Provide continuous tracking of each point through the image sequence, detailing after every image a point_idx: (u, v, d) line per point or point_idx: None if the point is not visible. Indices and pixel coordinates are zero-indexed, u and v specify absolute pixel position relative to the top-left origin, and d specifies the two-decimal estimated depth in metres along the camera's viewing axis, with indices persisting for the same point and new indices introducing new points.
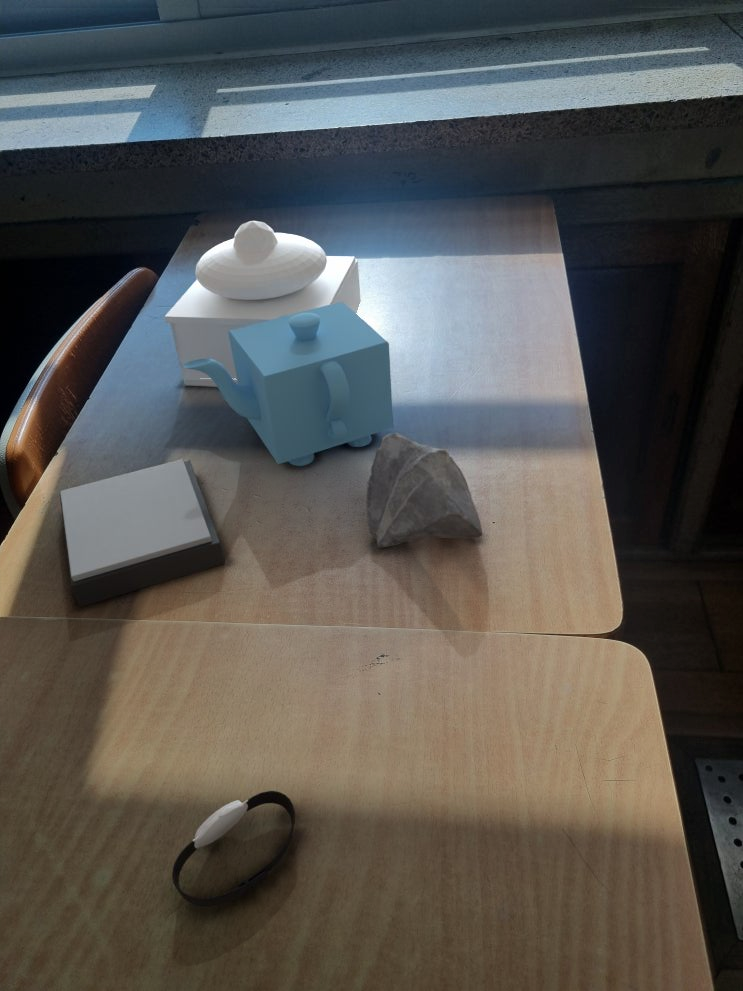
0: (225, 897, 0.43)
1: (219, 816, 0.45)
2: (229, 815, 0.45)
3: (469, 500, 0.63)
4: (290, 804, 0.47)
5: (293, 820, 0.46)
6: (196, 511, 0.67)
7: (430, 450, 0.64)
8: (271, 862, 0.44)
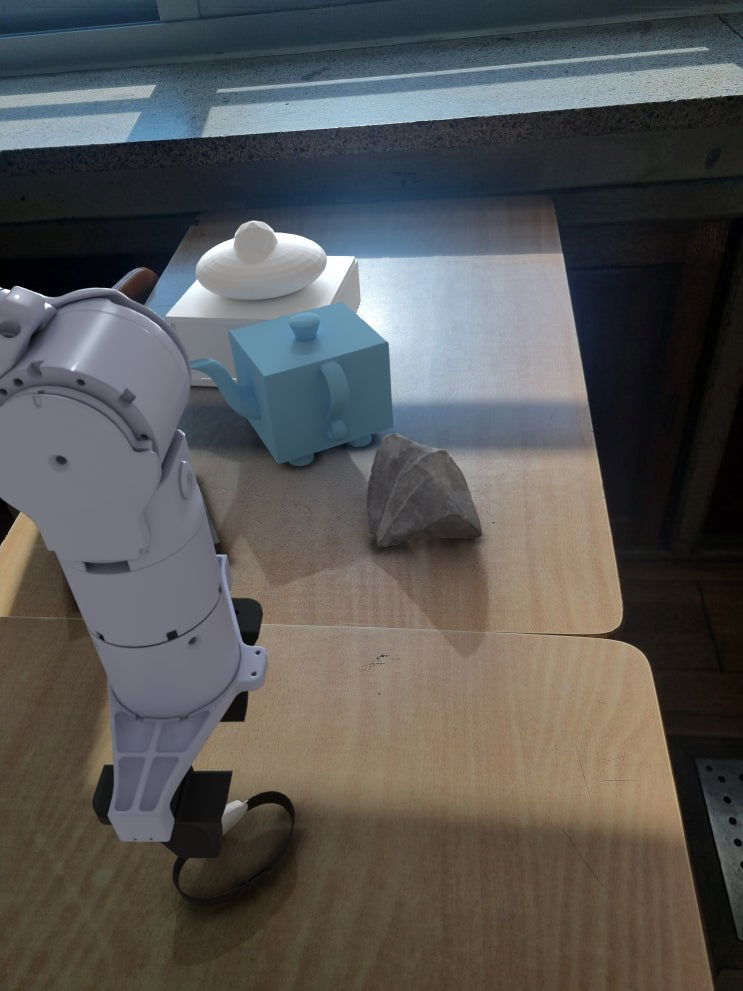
0: (225, 897, 0.43)
1: None
2: (229, 815, 0.45)
3: (469, 500, 0.63)
4: (290, 804, 0.47)
5: (293, 820, 0.46)
6: None
7: (430, 450, 0.64)
8: (271, 862, 0.44)
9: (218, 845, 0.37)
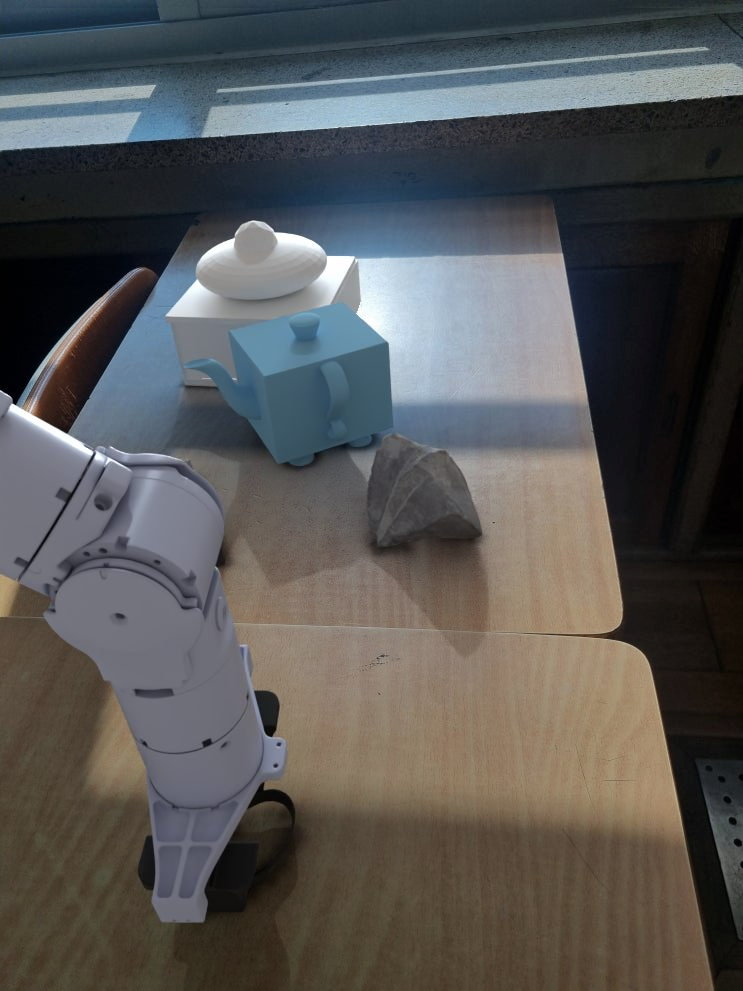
0: None
1: None
2: None
3: (469, 500, 0.63)
4: (290, 802, 0.47)
5: (293, 818, 0.46)
6: None
7: (430, 450, 0.64)
8: (271, 860, 0.44)
9: (244, 902, 0.41)
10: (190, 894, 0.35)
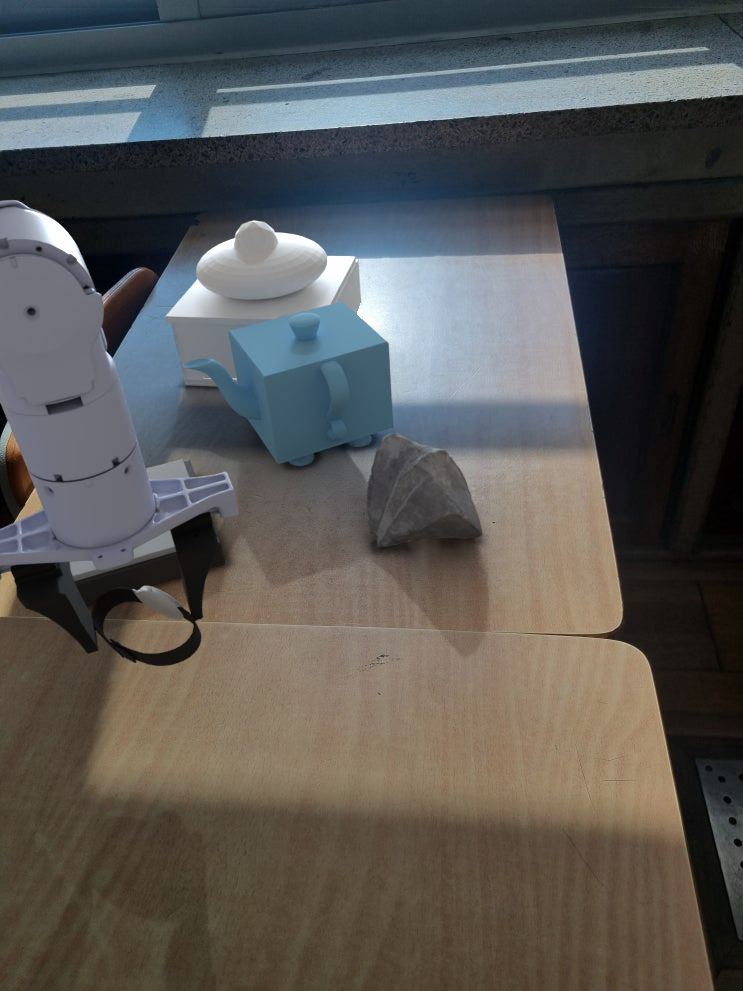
0: None
1: (146, 589, 0.49)
2: (158, 600, 0.50)
3: (469, 500, 0.63)
4: (188, 639, 0.48)
5: (175, 649, 0.48)
6: None
7: (430, 450, 0.64)
8: (135, 652, 0.48)
9: (79, 642, 0.47)
10: None
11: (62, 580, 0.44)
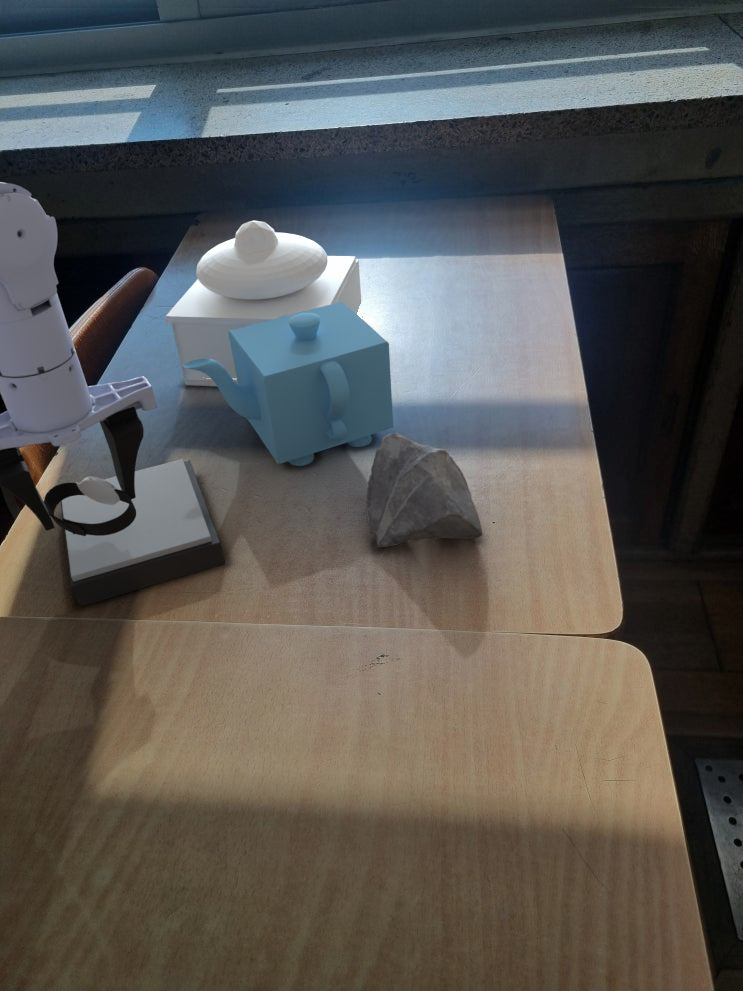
0: (57, 520, 0.63)
1: (88, 478, 0.63)
2: (98, 486, 0.63)
3: (469, 500, 0.63)
4: (126, 510, 0.62)
5: (117, 517, 0.61)
6: (196, 511, 0.67)
7: (430, 450, 0.64)
8: (85, 524, 0.62)
9: None
10: None
11: (25, 463, 0.57)
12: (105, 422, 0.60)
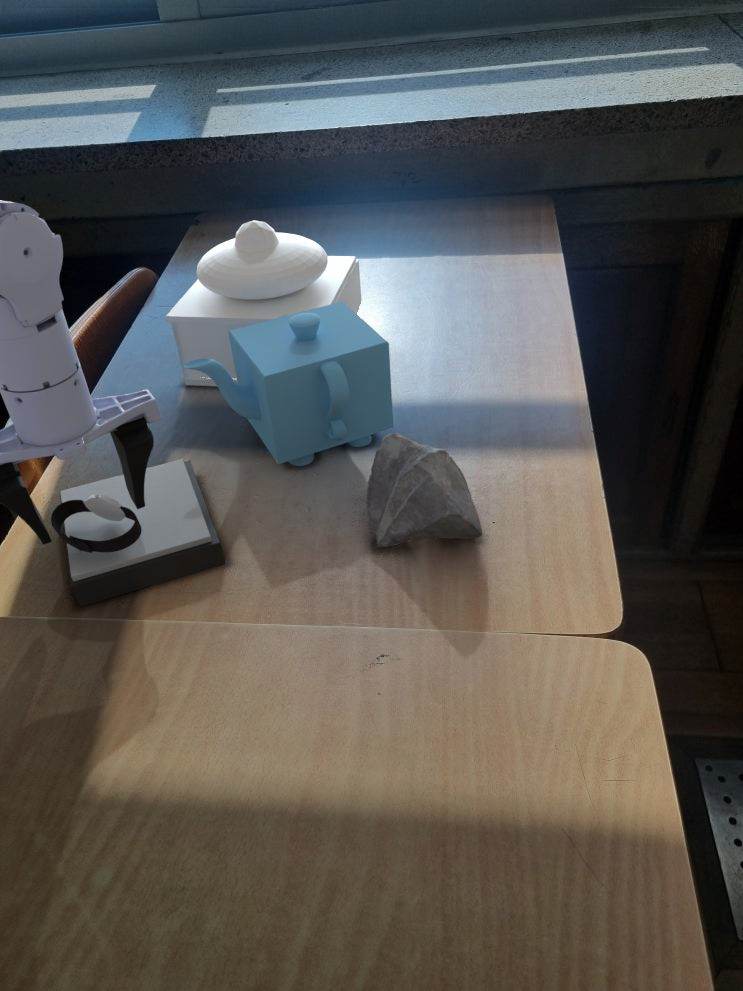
0: (63, 537, 0.64)
1: (94, 495, 0.64)
2: (104, 503, 0.64)
3: (469, 500, 0.63)
4: (132, 527, 0.63)
5: (122, 535, 0.63)
6: (196, 511, 0.67)
7: (430, 450, 0.64)
8: (91, 542, 0.63)
9: (36, 534, 0.61)
10: None
11: (21, 479, 0.58)
12: (116, 432, 0.61)
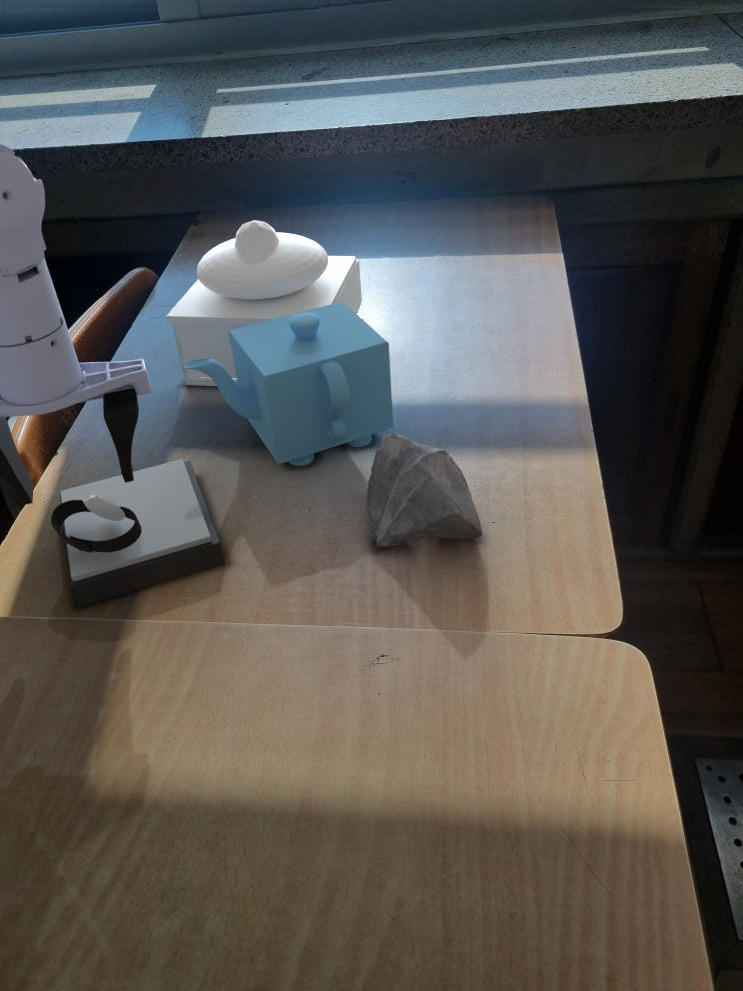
0: (63, 537, 0.64)
1: (94, 495, 0.64)
2: (104, 503, 0.64)
3: (469, 500, 0.63)
4: (132, 527, 0.63)
5: (122, 535, 0.63)
6: (196, 511, 0.67)
7: (430, 450, 0.64)
8: (91, 542, 0.63)
9: None
10: None
11: None
12: None
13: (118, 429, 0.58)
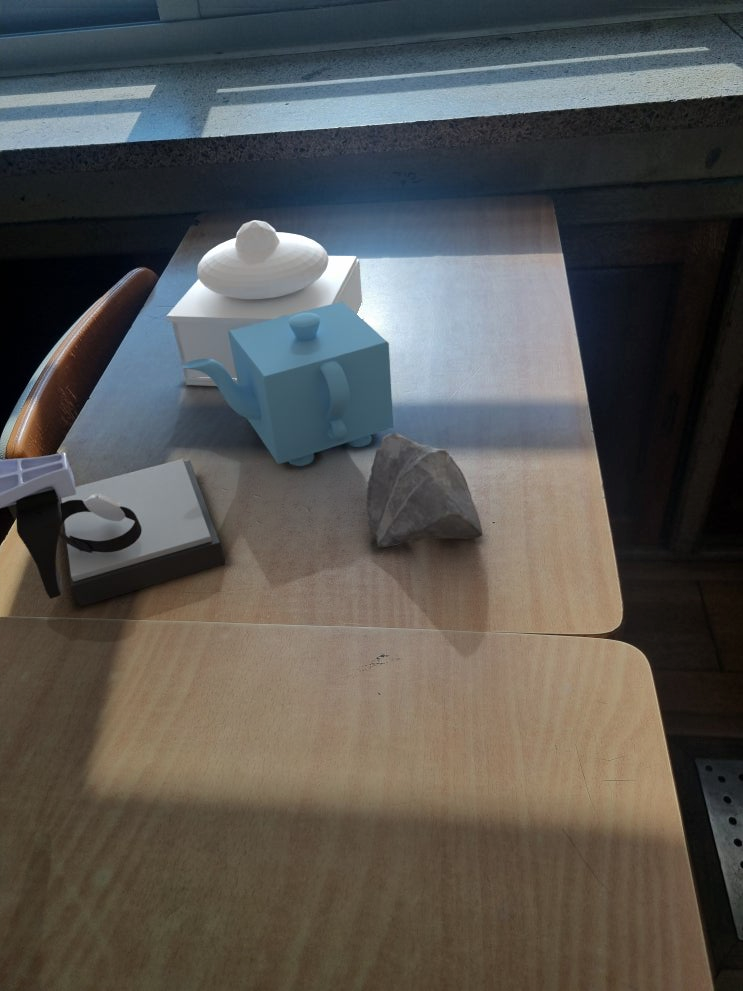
0: (63, 537, 0.64)
1: (94, 495, 0.64)
2: (104, 503, 0.64)
3: (469, 500, 0.63)
4: (132, 527, 0.63)
5: (122, 535, 0.63)
6: (196, 511, 0.67)
7: (430, 450, 0.64)
8: (91, 542, 0.63)
9: None
10: None
11: None
12: None
13: (37, 542, 0.47)
